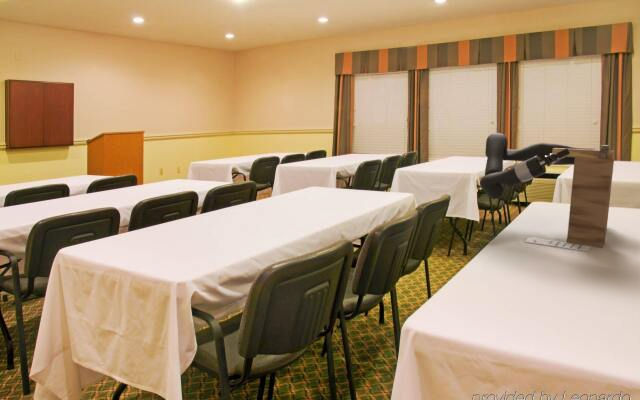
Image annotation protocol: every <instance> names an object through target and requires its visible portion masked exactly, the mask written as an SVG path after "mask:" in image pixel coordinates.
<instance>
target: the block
mask: <svg viewBox="0 0 640 400" xmlns="http://www.w3.org/2000/svg"><path fill="white" fill-rule="evenodd" d="M564 149H566V148H553V152H552V154H554V153H557V154H558V152H560V151H562V150H564ZM587 149H588V148H587ZM587 149H568V150H569V152H570V154H568V155H566V156H564V157H582V158H599V156H600V150H587ZM606 159H614V160H615V150H610V149H609V150H607V154H606Z"/></svg>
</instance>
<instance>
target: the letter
mask: <svg viewBox="0 0 640 400" xmlns="http://www.w3.org/2000/svg"><path fill="white" fill-rule="evenodd" d="M524 243H527V244H534V245H538V246H546V247H554V248H560V249H564V250H565V249H566V250H570V251H571V250H572V251H578V252H583V253H584V252H585V253H588V251H589V250H590V249H591V248H592V246H588V245H581V244H575V243H568V242H565V241H564V242H563V241H558V240H552V239H551V240H550V239H543V238H538V237H529V238H528V239H527V240H525V241H524Z"/></svg>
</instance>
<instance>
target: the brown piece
mask: <svg viewBox="0 0 640 400" xmlns="http://www.w3.org/2000/svg"><path fill="white" fill-rule="evenodd" d="M599 148H600V156H599V158H582V157H575V160H574V165H573V174H572V183H571V184H572V185H571V194H570V205H569V214H568V215H569V216H568V217H569V218H568V224H567V225H568V227H567V237H566V243H571V244H578V245H585V246H591V247H596V248H601V249H603V248H604V247H605V245H606V238H607V230H608V222H609V221H608V220H609V219H608V218H609V211H610V203H611V202H610V200H611V192H612V191H611V190H612V182H613V173H614V165H615V158H614V159H606V154H607V150H609V151H610V144H603V145H602V144H601V145H600V147H599Z"/></svg>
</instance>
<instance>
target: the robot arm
mask: <svg viewBox="0 0 640 400" xmlns="http://www.w3.org/2000/svg"><path fill="white" fill-rule="evenodd" d="M485 140H486V141H485V156H486V157H487V159H486V164H485V169H484V170H485V171H484V176H483V177H482V178H481V179H480V181H479V186H480V187H481V189H482V190H483V191H484V193H485V194H486V195H487V197H489V198H490V199H493V200H497V199H500V198H501V197H503V196H504V193H505V192H506V191H505V189H506V187H505V185H506V186H508V187H509V188H513V187H515V186H518V185H520V184H523V183H525V182H529V181H530V180H533V179H536V178H537V177H540V176H542V175H544V174H546V172H547V167H551V166H567V165H573V166H574V160H575V157H564V156H566V155H568V154H570V152H569V150H568V149H587V150H600V147H597V148H584V147H583V148H581V147H574V146H568V145H565V144H564V145H563V144H558V143H557V144H556V143H551V142H549V143H548V142H536V143H533V144H530V145H527V146H526V147H523V148H519V149H509V148H508V138H507V136H506V135H505V134H504V133H500V132H496V133H495V132H494V133H491V134H489V135H488V136H487V138H486V139H485ZM553 148H566V149H564V150H562V151H560V152H558V154H557V153H554V154H552V152H553ZM504 161H512V162H519V163H518V164H516V165H515V166H512V167H511V168H509V169H507V170H503V169H504V168H503V167H504V166H503V165H504ZM546 166H547V167H546Z"/></svg>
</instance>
